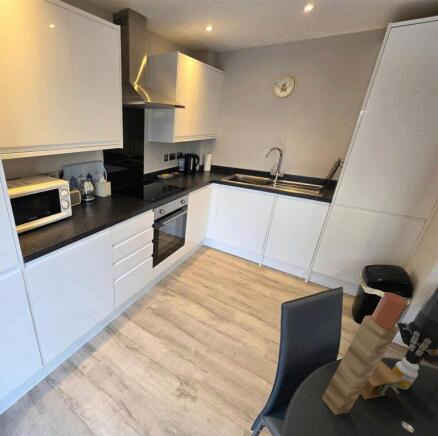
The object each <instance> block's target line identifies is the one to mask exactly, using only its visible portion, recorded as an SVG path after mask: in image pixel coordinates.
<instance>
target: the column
mask: <svg viewBox="0 0 438 436" xmlns="http://www.w3.org/2000/svg"><path fill="white" fill-rule="evenodd" d="M372 315H373V314H372ZM372 315H365V316H364V317H363V319H362V321H361V323H360V325H359V326H358V328H357V330H356V332H355V335H354V337H353V338H352V340H351V341H350V344H349V346H348V348H347V349H346V351H345V353H344V355H343V357H342V358H341V361H340V363H339V365H338V366H337V368H336V371H335V372H334V374H333V376H332V378H331V379H330V381H329V384H328V386H327V388H326V390H325V391H324V393H323V395H322V397H321V399H322V401H323V402H324V403H325V404H326V405H327V407H328V408H329V409H330V410H331V412H332V413H333V414H334V416H337V415H338V416H339V415H343V414H348V413H350V411H351V409H352V408H353V406H354V404H355V402H356V401H357V399H358V398H359V396H360V395H361V394H360V393H361V391H362V389H363V388H364V386H365V385H366V383H367V381H368V380H369V378H370V376H371V375H372V373H373V372H374V370H375V368H376V367H377V365H378V363H379V362H380V360H381V361H382V359H383V357H384V356H385V354H386V353H387V350H388V349H389V347H390V346H391V344H392V342H393V341H394V340H395V338H396V336H397V334H398V332H400V331H399V329H400V328H398V325H397V326H396V324H395V325H394V327H393V328H392V329H388V328H384V327H382V326H380V325H378V324H376V323H375V322H374V321H373V320H372V318H371V317H372Z"/></svg>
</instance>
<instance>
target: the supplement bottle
mask: <svg viewBox="0 0 438 436" xmlns="http://www.w3.org/2000/svg"><path fill="white" fill-rule="evenodd" d="M391 369H392V370H393V371H394V372H395V373H396V374H397V375H398V376H400V377H401V378H402V379H403V381H402V383H401V384H400V385H399V387H398V388H399V389H401V390H409V389H410V388H411V386H412V385H413V383H414V382H415V381H416V379H417V377H418V376H419V369H420V366H419V365H418V364H411V363H409V362H408V361H407V360H406V357H404V358H402V359H401V361H397V362H396V363H395V365H394V366H393V368H391Z"/></svg>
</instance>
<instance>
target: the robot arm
mask: <svg viewBox="0 0 438 436" xmlns="http://www.w3.org/2000/svg"><path fill="white" fill-rule="evenodd" d="M396 325H397V327H398V328H400V329H399V331H398V332H399V334H400V338H401V341H402V343H403V344H404V345H406V346H407V347H408V350H407V352H406V353H405V354H404V358H406V360H407V361H408V362H409V363H411V364H421V363H422V362H423V359H424V360H426V361H427V362H428V361H429V362H435V361H436V362H438V354H437V353H436V354H435V353H434V354H431V353H430V352H432V351H438V284H436V286H435V288H434V290H433V291H432V293H431V295H429V297H427V299H426V300H425V301H424V302H423V303H422V305H421V307H420V309H419V310H418V312H417V314H416V316H414V319H413V320H412V321H410V322H409V323H408V322H406V321H401V322H396Z"/></svg>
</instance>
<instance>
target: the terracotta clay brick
mask: <svg viewBox="0 0 438 436" xmlns="http://www.w3.org/2000/svg"><path fill="white" fill-rule="evenodd" d="M408 304H409V302H408V300H407V299H406V298H404V297H402V296H401V295H399V294H396V293H394V292H388V291H386V292H384V293H383V295H382V296H381V298H380V300H379V302H378V304H377V306H376V308H375V309H374V311H373V313H372V317H371V318H372V320H373V321H374V322H375V323H376V324H378V325H380V326H382V327H384V328H388V329H392V328H393V327H394V325H395V326H396V325H397V323H398V320H399V319H400V317H401V316H402V314H403V312H404V311H405V309H406V307H407V305H408Z"/></svg>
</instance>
